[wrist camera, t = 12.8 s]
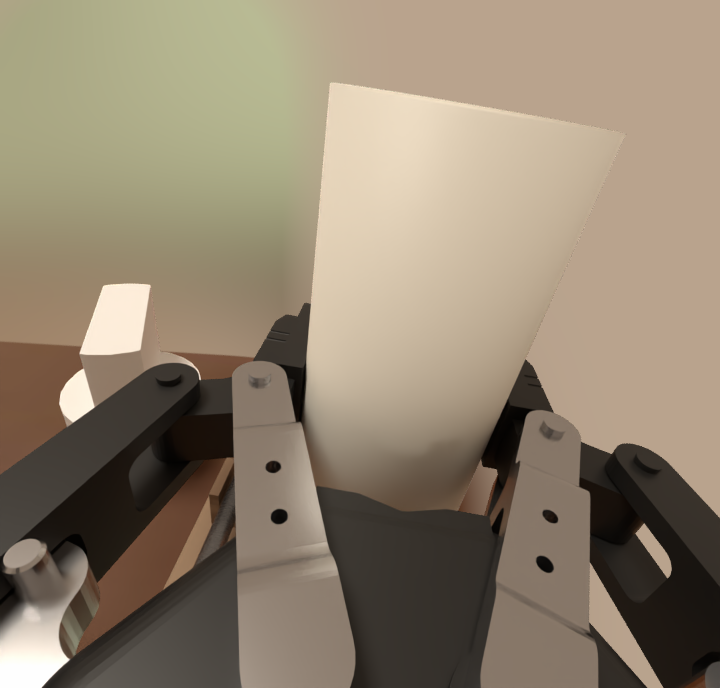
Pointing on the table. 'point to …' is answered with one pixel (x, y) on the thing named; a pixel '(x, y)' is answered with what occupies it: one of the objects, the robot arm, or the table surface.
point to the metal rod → (220, 525)
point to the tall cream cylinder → (433, 282)
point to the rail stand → (204, 523)
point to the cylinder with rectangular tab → (115, 348)
